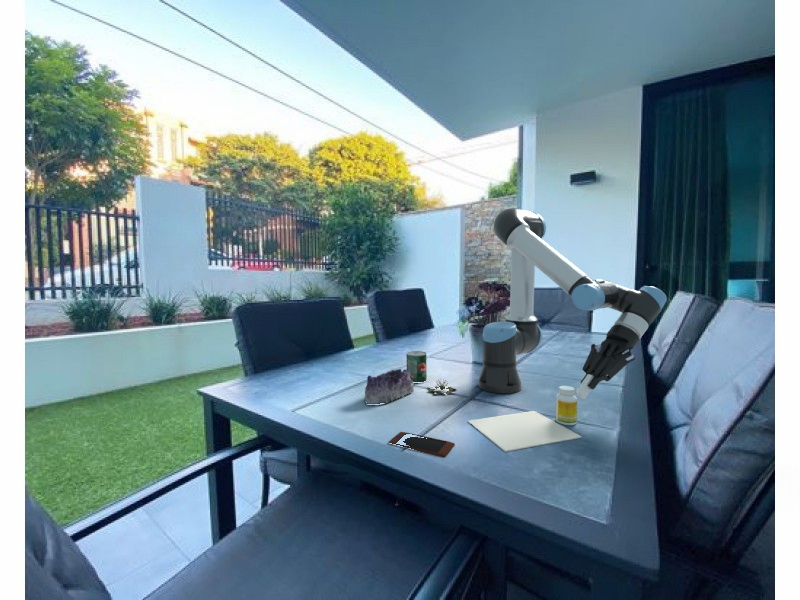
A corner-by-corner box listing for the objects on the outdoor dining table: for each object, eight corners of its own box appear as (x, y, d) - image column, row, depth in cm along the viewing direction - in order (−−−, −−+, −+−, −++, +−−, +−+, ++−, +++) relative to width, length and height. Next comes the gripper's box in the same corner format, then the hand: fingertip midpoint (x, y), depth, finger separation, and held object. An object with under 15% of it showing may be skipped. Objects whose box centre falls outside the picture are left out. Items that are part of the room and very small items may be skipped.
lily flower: (452, 386, 132) (452, 374, 132) (463, 397, 120) (463, 383, 120) (421, 388, 130) (421, 376, 130) (429, 399, 118) (429, 386, 118)
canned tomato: (427, 383, 134) (427, 355, 133) (406, 384, 134) (406, 355, 133) (426, 377, 142) (425, 350, 141) (406, 378, 142) (406, 351, 141)
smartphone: (400, 430, 92) (455, 442, 85) (400, 434, 92) (455, 445, 85) (387, 441, 86) (445, 455, 79) (387, 445, 86) (445, 459, 79)
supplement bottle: (552, 418, 100) (552, 385, 99) (570, 417, 100) (571, 384, 100) (561, 426, 95) (561, 391, 94) (580, 425, 95) (581, 390, 94)
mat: (505, 451, 81) (505, 450, 81) (467, 421, 98) (467, 420, 98) (581, 437, 88) (581, 436, 88) (533, 411, 105) (533, 410, 105)
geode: (385, 411, 108) (380, 379, 108) (357, 408, 115) (353, 378, 114) (420, 390, 124) (416, 362, 124) (395, 389, 131) (391, 362, 131)
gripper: (655, 344, 96) (607, 412, 92) (613, 336, 109) (569, 396, 105) (641, 326, 94) (591, 394, 90) (600, 320, 107) (554, 380, 103)
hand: (579, 395), depth 98 cm, fingers closed
